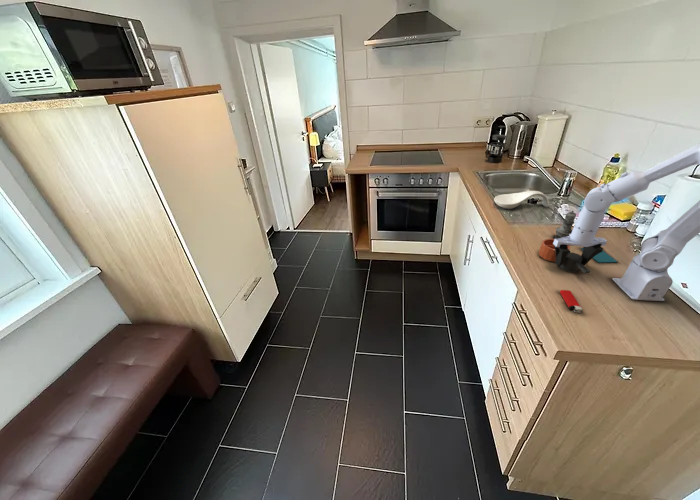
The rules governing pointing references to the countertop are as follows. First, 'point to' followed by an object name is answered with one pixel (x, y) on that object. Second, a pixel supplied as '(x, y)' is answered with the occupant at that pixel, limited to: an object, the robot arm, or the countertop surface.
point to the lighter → (571, 301)
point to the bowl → (548, 250)
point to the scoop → (573, 263)
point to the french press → (496, 158)
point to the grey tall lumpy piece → (566, 226)
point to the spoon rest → (518, 199)
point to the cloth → (603, 258)
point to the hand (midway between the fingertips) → (570, 263)
